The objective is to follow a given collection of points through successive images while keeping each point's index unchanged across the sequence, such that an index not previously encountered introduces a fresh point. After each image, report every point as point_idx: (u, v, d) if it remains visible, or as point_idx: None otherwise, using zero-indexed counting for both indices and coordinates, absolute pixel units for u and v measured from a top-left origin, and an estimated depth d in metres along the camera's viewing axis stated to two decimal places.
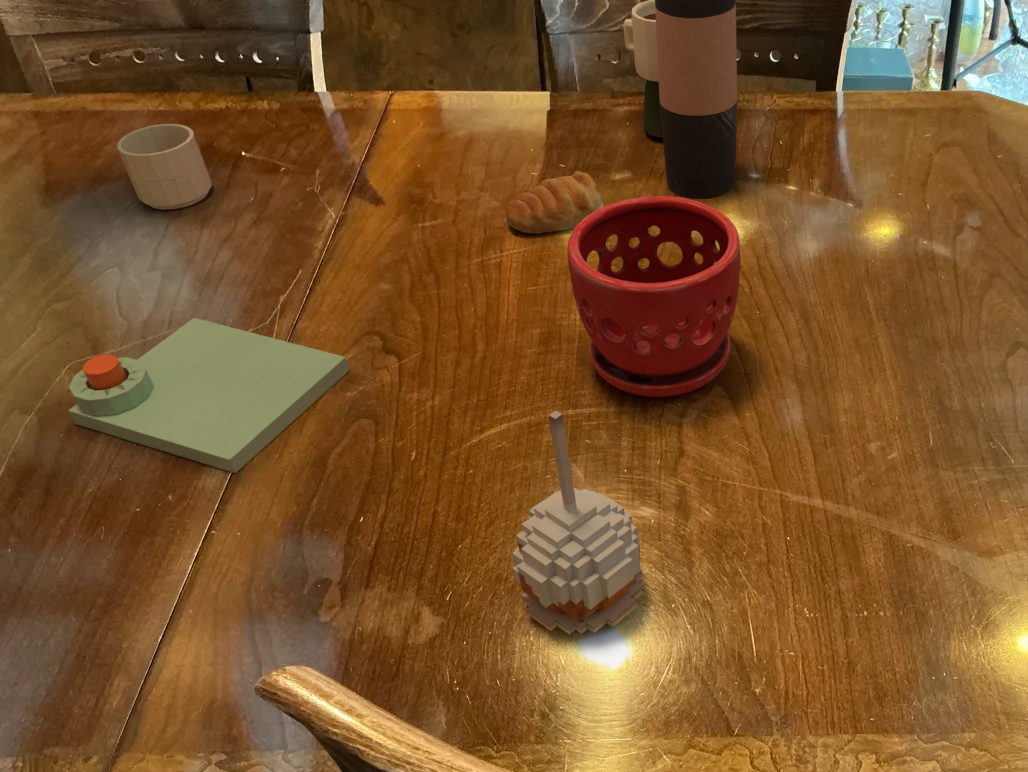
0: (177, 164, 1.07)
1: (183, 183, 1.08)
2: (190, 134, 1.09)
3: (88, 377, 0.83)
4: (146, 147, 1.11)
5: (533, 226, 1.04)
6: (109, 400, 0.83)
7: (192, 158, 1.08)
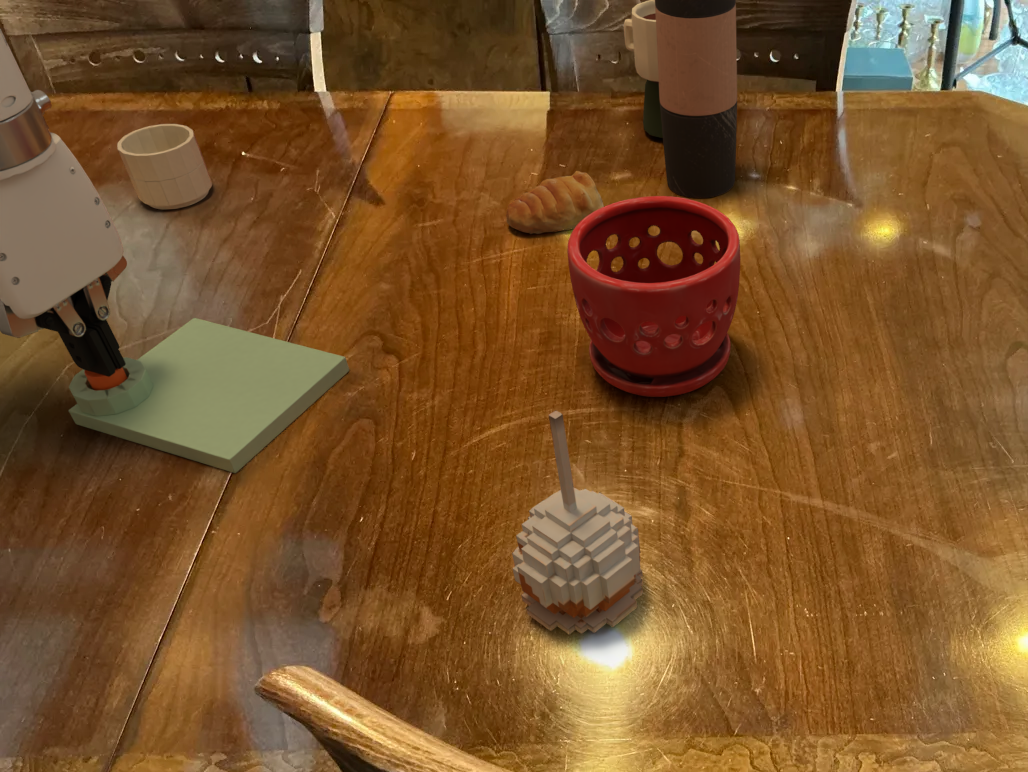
0: (177, 164, 1.07)
1: (183, 183, 1.08)
2: (190, 134, 1.09)
3: (90, 380, 0.83)
4: (146, 147, 1.11)
5: (533, 226, 1.04)
6: (109, 400, 0.83)
7: (192, 158, 1.08)
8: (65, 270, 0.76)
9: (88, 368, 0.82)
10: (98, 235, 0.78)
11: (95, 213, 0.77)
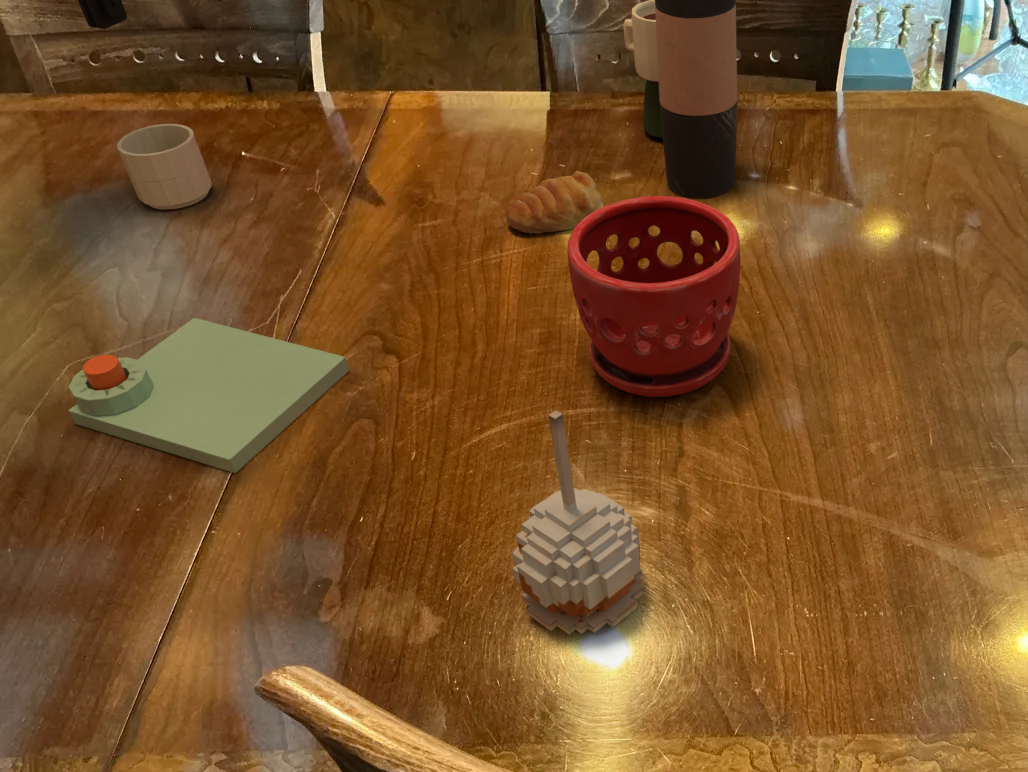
0: (177, 164, 1.07)
1: (183, 183, 1.08)
2: (190, 134, 1.09)
3: (88, 377, 0.83)
4: (146, 147, 1.11)
5: (533, 226, 1.04)
6: (109, 400, 0.83)
7: (192, 158, 1.08)
8: None
9: None
10: None
11: None
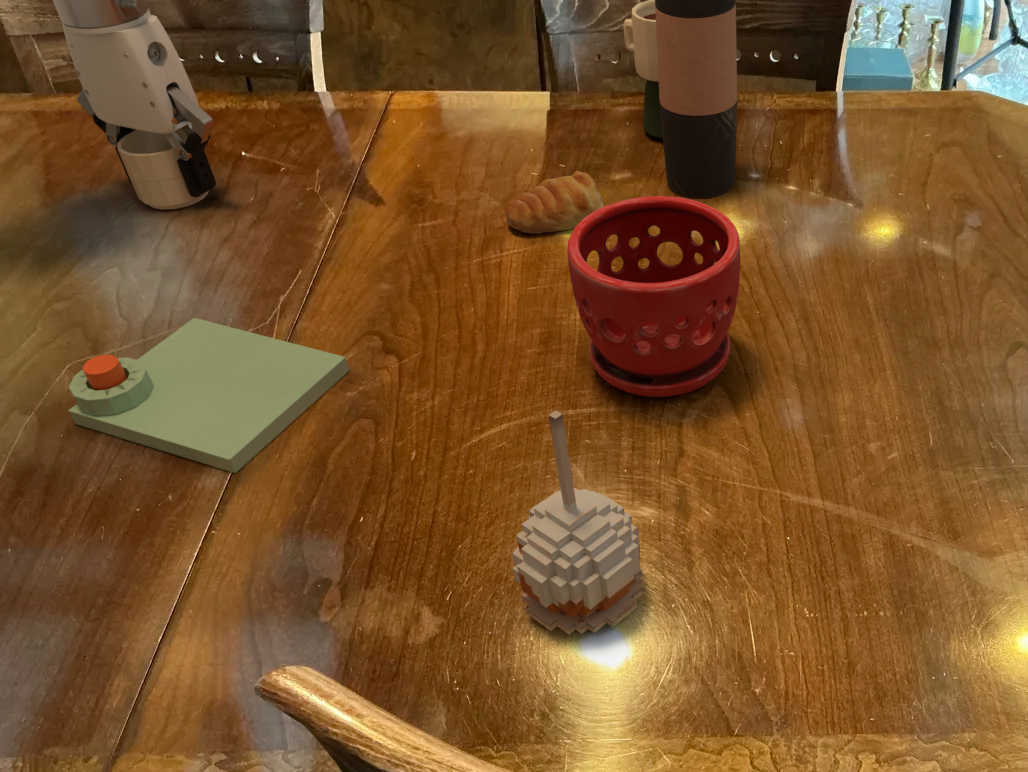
0: (177, 164, 1.07)
1: (183, 183, 1.08)
2: None
3: (88, 377, 0.83)
4: (146, 147, 1.11)
5: (533, 226, 1.04)
6: (109, 400, 0.83)
7: None
8: (118, 109, 1.04)
9: None
10: (143, 106, 1.02)
11: (142, 91, 1.01)
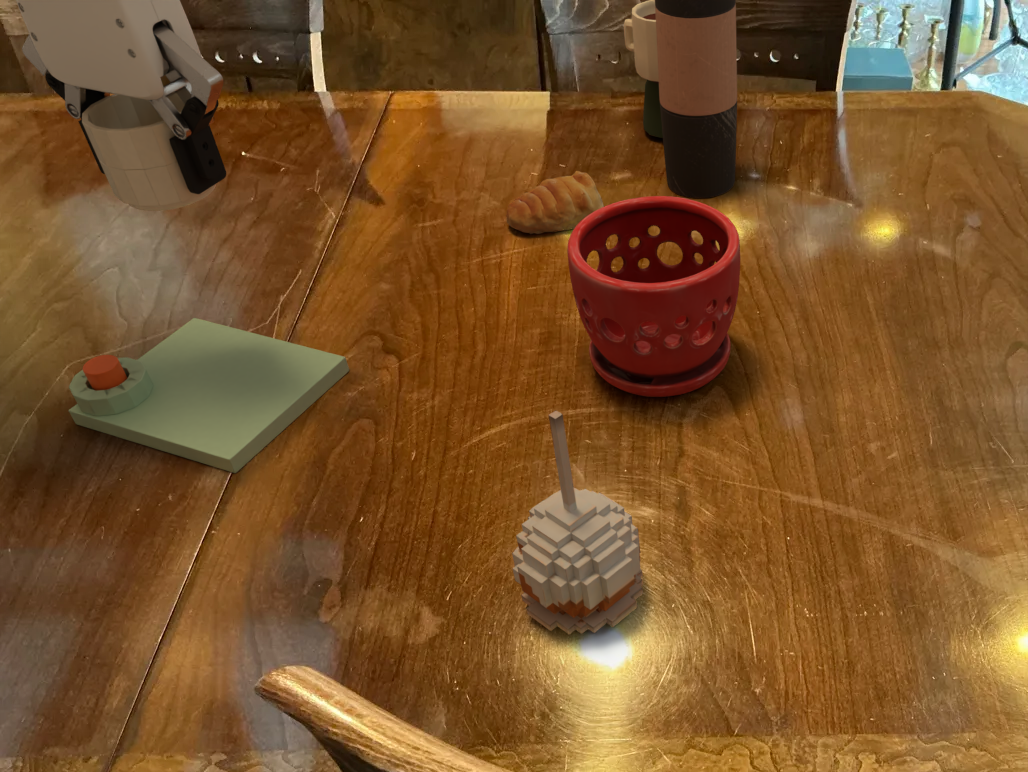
0: (170, 144, 0.73)
1: (179, 172, 0.74)
2: None
3: (88, 377, 0.83)
4: (125, 121, 0.76)
5: (533, 226, 1.04)
6: (109, 400, 0.83)
7: None
8: (81, 62, 0.69)
9: None
10: (118, 56, 0.68)
11: (116, 33, 0.67)
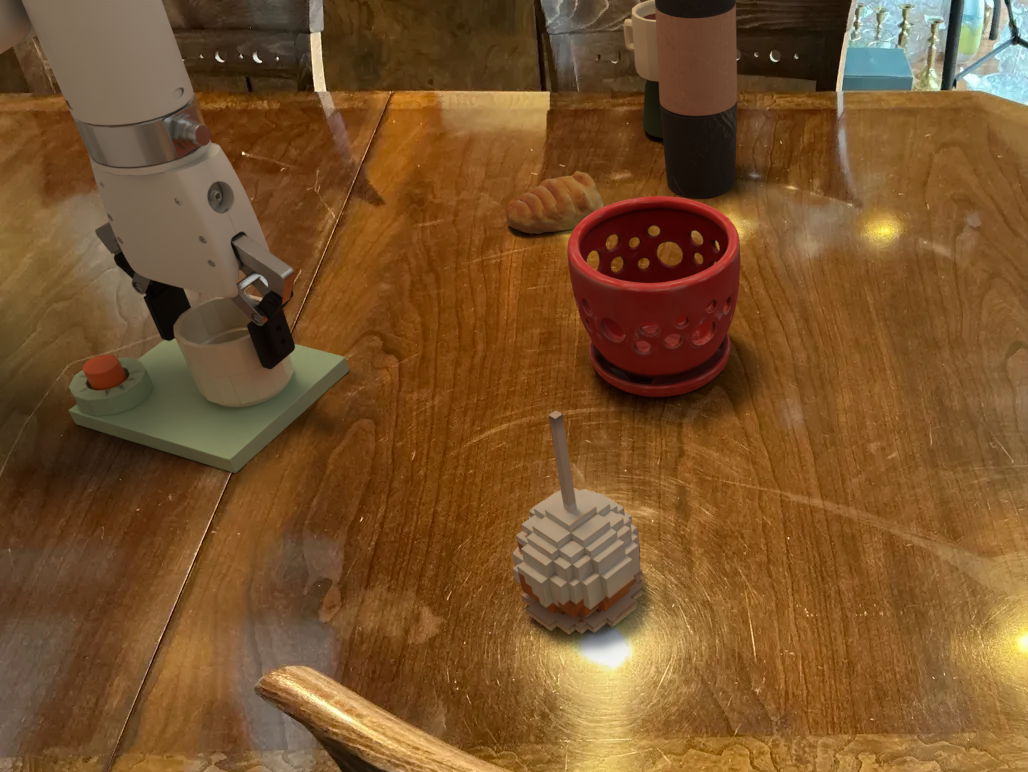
0: (253, 354, 0.81)
1: (260, 376, 0.82)
2: None
3: (88, 377, 0.83)
4: (209, 324, 0.85)
5: (533, 226, 1.04)
6: (109, 400, 0.83)
7: None
8: (163, 265, 0.76)
9: None
10: (199, 264, 0.75)
11: (198, 247, 0.74)
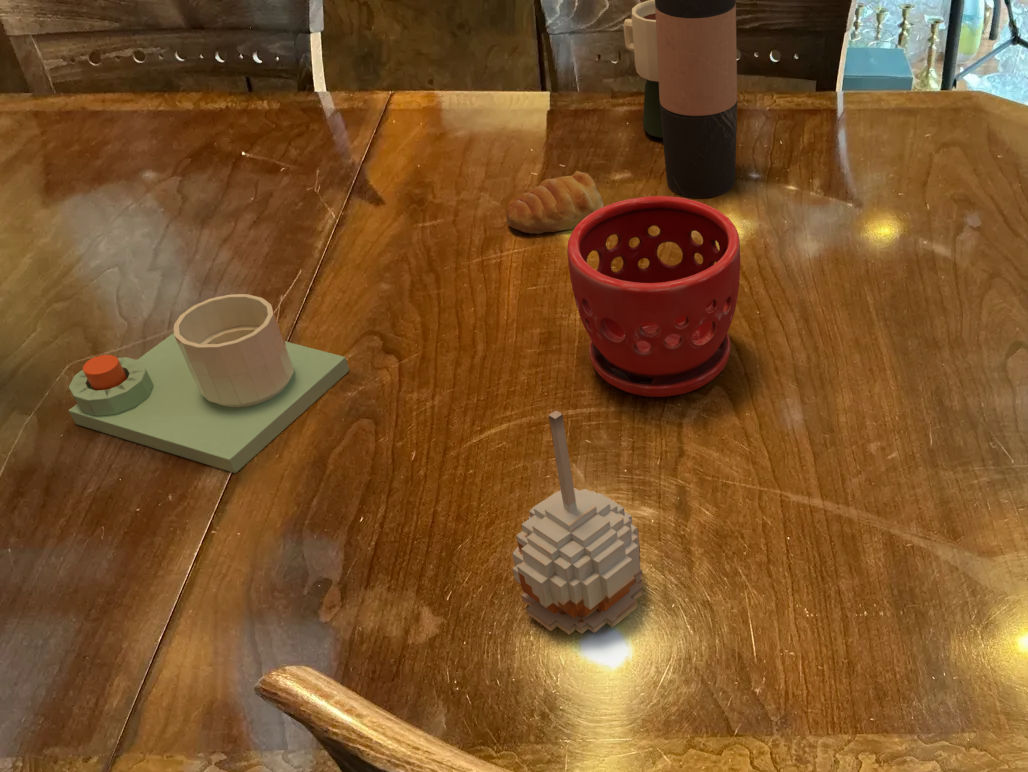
0: (253, 354, 0.81)
1: (260, 376, 0.82)
2: (269, 312, 0.82)
3: (88, 377, 0.83)
4: (209, 324, 0.85)
5: (533, 226, 1.04)
6: (109, 400, 0.83)
7: (271, 344, 0.82)
8: None
9: None
10: None
11: None
